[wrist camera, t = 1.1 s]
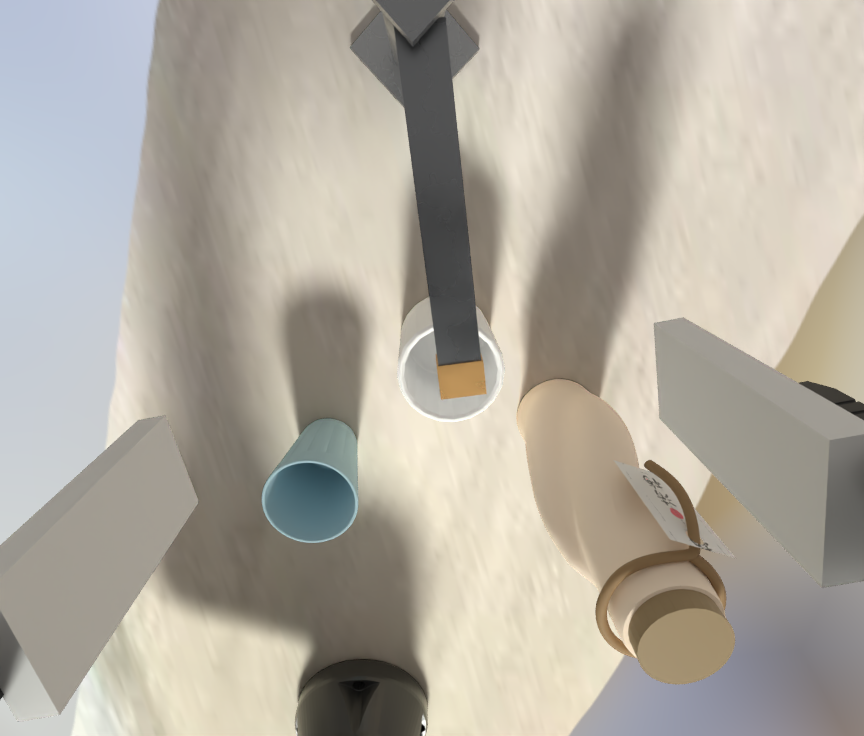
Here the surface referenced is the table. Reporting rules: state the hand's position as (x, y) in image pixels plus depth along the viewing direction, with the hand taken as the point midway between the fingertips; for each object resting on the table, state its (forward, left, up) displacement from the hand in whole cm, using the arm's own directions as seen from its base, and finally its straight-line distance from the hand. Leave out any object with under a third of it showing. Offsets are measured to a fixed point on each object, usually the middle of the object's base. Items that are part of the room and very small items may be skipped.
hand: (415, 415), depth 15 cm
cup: (-20, -7, -36) cm, 42 cm away
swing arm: (+3, +1, -18) cm, 18 cm away
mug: (-3, -6, -36) cm, 37 cm away
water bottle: (-2, -20, -36) cm, 41 cm away
